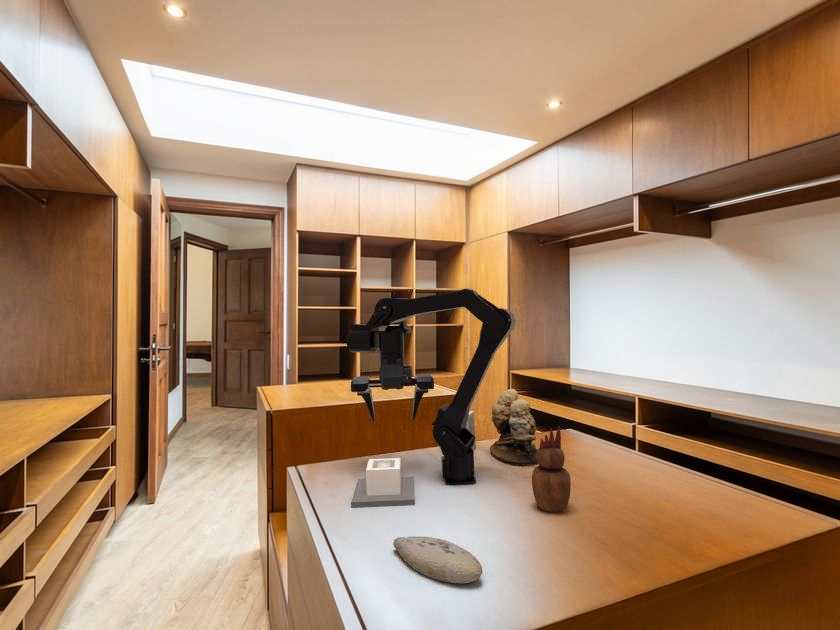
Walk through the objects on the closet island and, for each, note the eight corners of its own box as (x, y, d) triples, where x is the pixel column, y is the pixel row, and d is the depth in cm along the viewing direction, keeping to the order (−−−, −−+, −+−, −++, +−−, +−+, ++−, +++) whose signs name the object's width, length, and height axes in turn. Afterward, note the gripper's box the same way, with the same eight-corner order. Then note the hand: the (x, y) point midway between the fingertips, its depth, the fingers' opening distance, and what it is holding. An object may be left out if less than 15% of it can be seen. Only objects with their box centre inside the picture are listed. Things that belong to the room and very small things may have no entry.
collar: (401, 481, 92) (400, 457, 92) (400, 494, 85) (399, 468, 85) (369, 482, 92) (369, 459, 92) (366, 495, 85) (365, 470, 85)
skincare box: (460, 446, 118) (459, 409, 119) (476, 448, 117) (475, 410, 117) (453, 452, 114) (452, 413, 114) (469, 454, 112) (468, 415, 112)
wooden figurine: (571, 503, 81) (568, 423, 81) (571, 517, 76) (568, 431, 76) (534, 499, 83) (531, 421, 83) (531, 513, 78) (528, 429, 78)
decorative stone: (407, 543, 69) (406, 521, 69) (494, 575, 60) (493, 550, 60) (381, 561, 65) (380, 538, 65) (471, 599, 55) (470, 572, 55)
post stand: (413, 481, 95) (412, 453, 95) (414, 504, 83) (413, 473, 83) (358, 483, 94) (357, 455, 94) (351, 507, 82) (350, 475, 82)
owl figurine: (555, 465, 102) (553, 393, 102) (508, 471, 100) (505, 397, 99) (522, 443, 120) (519, 381, 120) (481, 448, 117) (479, 384, 117)
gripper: (347, 357, 92) (349, 431, 92) (435, 354, 93) (437, 427, 93) (352, 352, 103) (354, 418, 103) (431, 350, 104) (433, 415, 104)
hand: (393, 420), depth 100 cm, fingers open, 9 cm apart
